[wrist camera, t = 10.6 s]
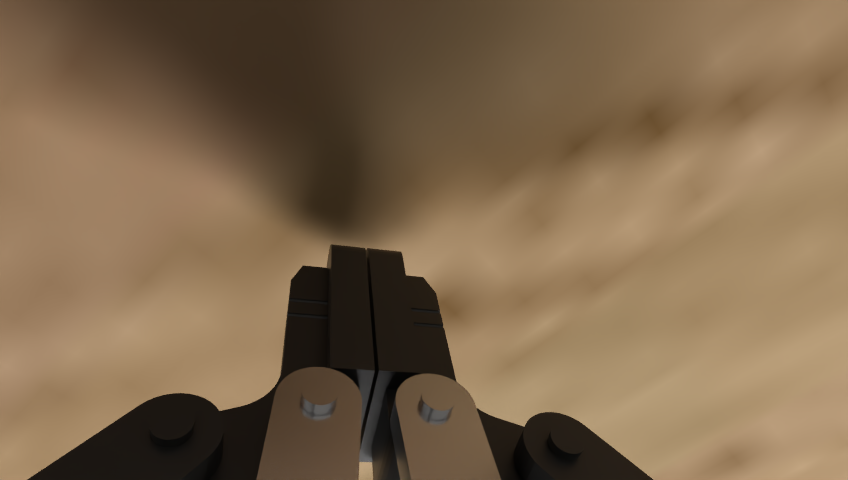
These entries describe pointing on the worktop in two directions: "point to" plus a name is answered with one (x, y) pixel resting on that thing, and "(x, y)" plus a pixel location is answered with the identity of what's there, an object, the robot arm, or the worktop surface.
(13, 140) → the worktop surface
